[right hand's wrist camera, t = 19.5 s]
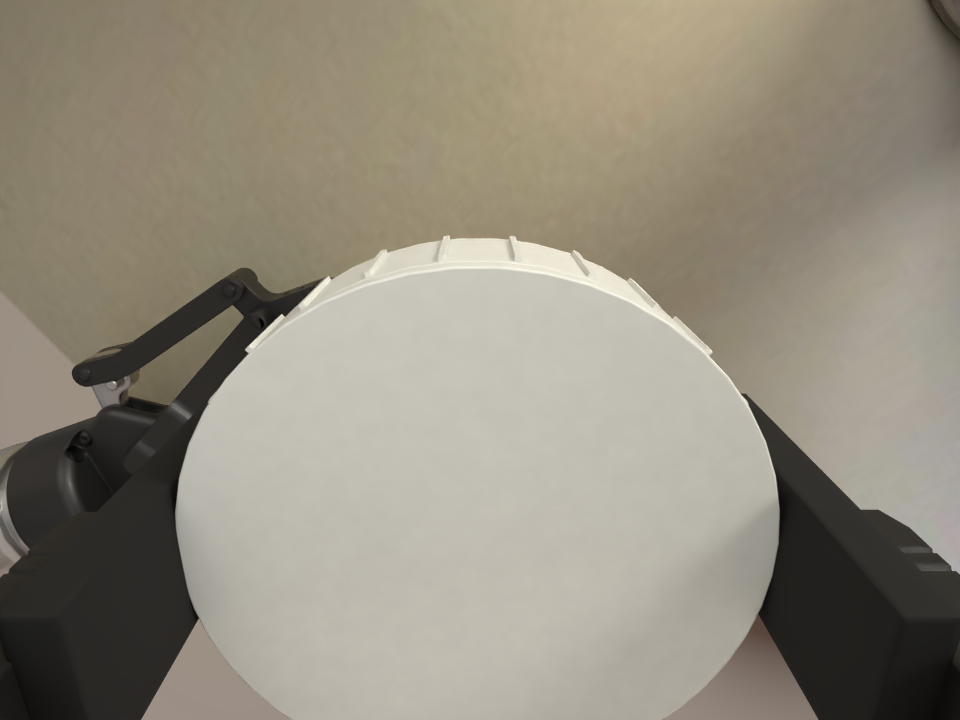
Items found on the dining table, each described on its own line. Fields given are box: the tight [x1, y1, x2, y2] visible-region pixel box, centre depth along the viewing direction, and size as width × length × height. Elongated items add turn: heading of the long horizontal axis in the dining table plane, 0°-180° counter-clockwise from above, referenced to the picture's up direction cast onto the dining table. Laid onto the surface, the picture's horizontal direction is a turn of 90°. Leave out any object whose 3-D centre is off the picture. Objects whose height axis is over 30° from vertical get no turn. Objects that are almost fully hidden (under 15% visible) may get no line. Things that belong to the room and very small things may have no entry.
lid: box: [175, 236, 780, 720], centre depth 12 cm, size 10×10×2 cm
